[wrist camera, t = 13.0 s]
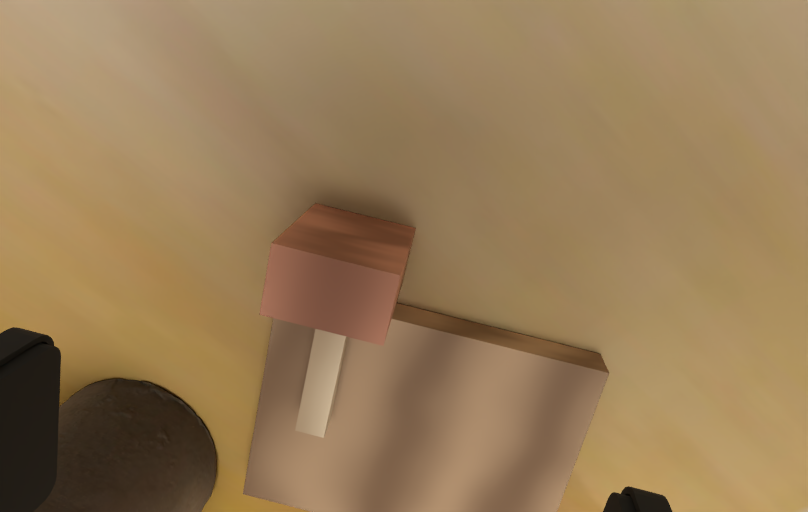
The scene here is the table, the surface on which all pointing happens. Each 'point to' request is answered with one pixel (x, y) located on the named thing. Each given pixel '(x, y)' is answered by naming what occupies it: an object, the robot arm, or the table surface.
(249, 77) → the table surface
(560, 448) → the plank
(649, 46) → the table surface
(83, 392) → the pillar candle
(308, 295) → the wooden mallet
